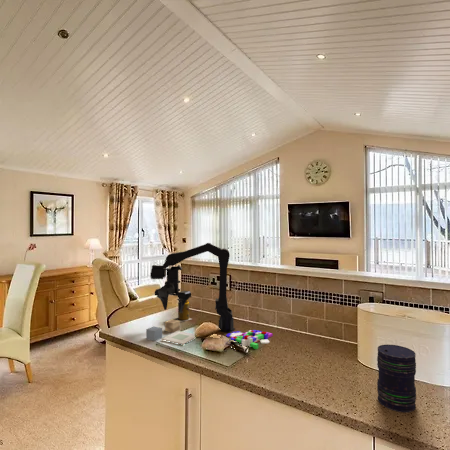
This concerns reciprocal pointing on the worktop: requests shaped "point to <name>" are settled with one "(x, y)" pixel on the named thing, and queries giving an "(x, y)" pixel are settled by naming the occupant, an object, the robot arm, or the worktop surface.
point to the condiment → (183, 312)
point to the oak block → (172, 325)
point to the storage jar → (396, 378)
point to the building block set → (250, 337)
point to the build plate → (179, 337)
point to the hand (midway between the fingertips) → (172, 310)
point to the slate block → (154, 333)
